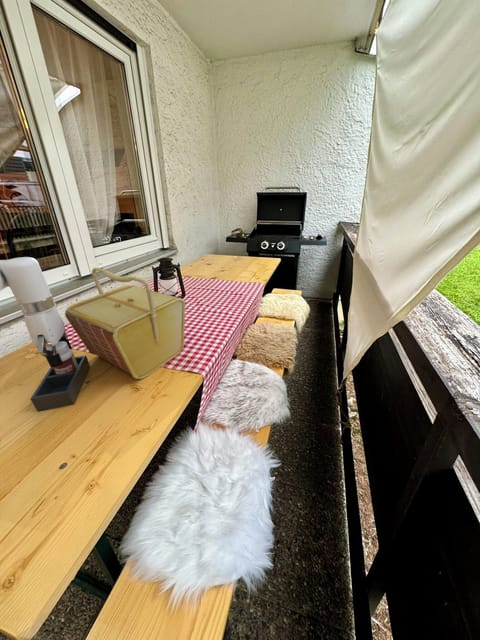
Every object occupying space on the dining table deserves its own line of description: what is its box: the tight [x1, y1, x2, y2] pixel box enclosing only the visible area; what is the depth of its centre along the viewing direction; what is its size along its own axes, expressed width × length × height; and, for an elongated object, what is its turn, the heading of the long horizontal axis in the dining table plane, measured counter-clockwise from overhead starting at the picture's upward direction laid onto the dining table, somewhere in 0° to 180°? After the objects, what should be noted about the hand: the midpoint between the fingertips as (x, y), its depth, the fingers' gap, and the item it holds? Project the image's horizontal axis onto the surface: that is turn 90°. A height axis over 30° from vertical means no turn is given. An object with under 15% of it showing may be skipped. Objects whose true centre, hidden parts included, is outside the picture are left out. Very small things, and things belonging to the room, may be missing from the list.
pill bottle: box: [47, 341, 78, 375], centre depth 78 cm, size 6×6×11 cm
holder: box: [29, 354, 91, 412], centre depth 77 cm, size 9×17×5 cm, turn 14°
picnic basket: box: [64, 267, 186, 380], centre depth 84 cm, size 29×26×30 cm
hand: (61, 357), depth 78 cm, fingers open, 7 cm apart
